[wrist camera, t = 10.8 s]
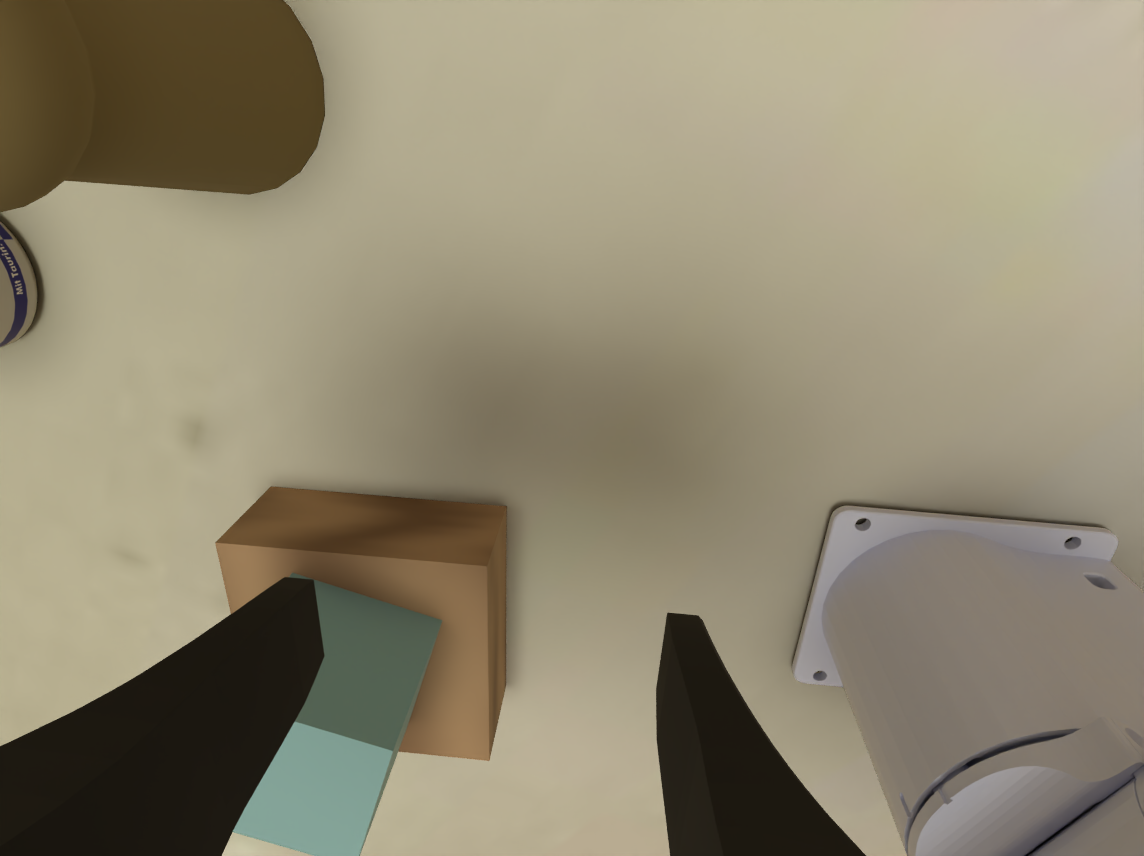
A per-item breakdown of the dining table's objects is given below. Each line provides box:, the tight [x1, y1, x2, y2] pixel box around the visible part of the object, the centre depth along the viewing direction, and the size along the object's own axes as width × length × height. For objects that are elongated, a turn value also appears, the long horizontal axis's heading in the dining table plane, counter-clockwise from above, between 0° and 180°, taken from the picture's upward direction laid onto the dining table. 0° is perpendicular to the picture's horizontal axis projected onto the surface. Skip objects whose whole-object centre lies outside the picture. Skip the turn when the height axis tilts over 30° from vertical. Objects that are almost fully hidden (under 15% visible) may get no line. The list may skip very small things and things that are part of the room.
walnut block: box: [216, 487, 507, 761], centre depth 25 cm, size 9×9×4 cm
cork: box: [0, 0, 325, 212], centre depth 14 cm, size 6×6×11 cm
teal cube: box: [233, 573, 442, 856], centre depth 21 cm, size 5×5×5 cm
